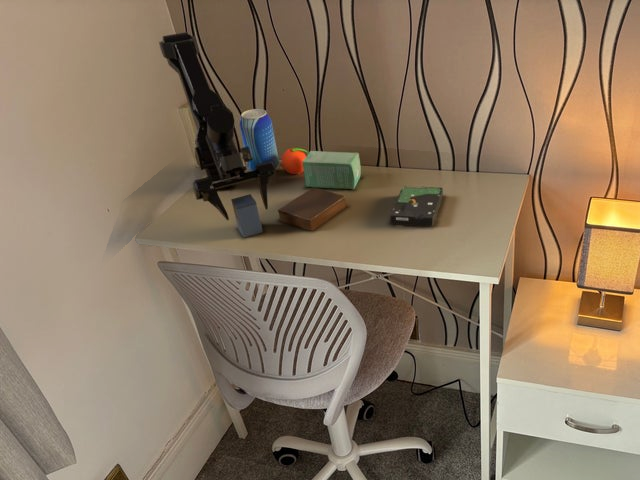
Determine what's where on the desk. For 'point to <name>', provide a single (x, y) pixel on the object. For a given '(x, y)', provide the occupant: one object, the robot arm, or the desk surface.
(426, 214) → the disk drive
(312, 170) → the box
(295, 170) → the clementine
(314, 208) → the brown flat block
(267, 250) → the desk surface
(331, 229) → the desk surface
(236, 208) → the small box
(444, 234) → the desk surface
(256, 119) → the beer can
